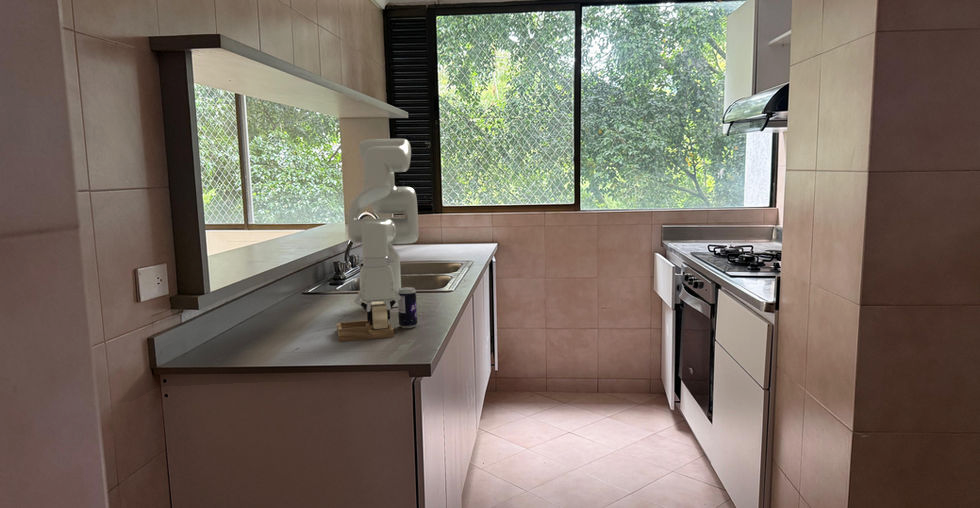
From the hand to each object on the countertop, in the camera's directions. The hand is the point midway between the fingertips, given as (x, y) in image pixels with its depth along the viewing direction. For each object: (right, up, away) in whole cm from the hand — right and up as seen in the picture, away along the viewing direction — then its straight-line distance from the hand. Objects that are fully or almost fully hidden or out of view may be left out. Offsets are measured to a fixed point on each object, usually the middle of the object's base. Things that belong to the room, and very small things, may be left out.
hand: (379, 322), depth 195 cm
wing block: (0, -1, 0) cm, 1 cm away
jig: (-4, -3, -1) cm, 5 cm away
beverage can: (+8, -2, +7) cm, 11 cm away
